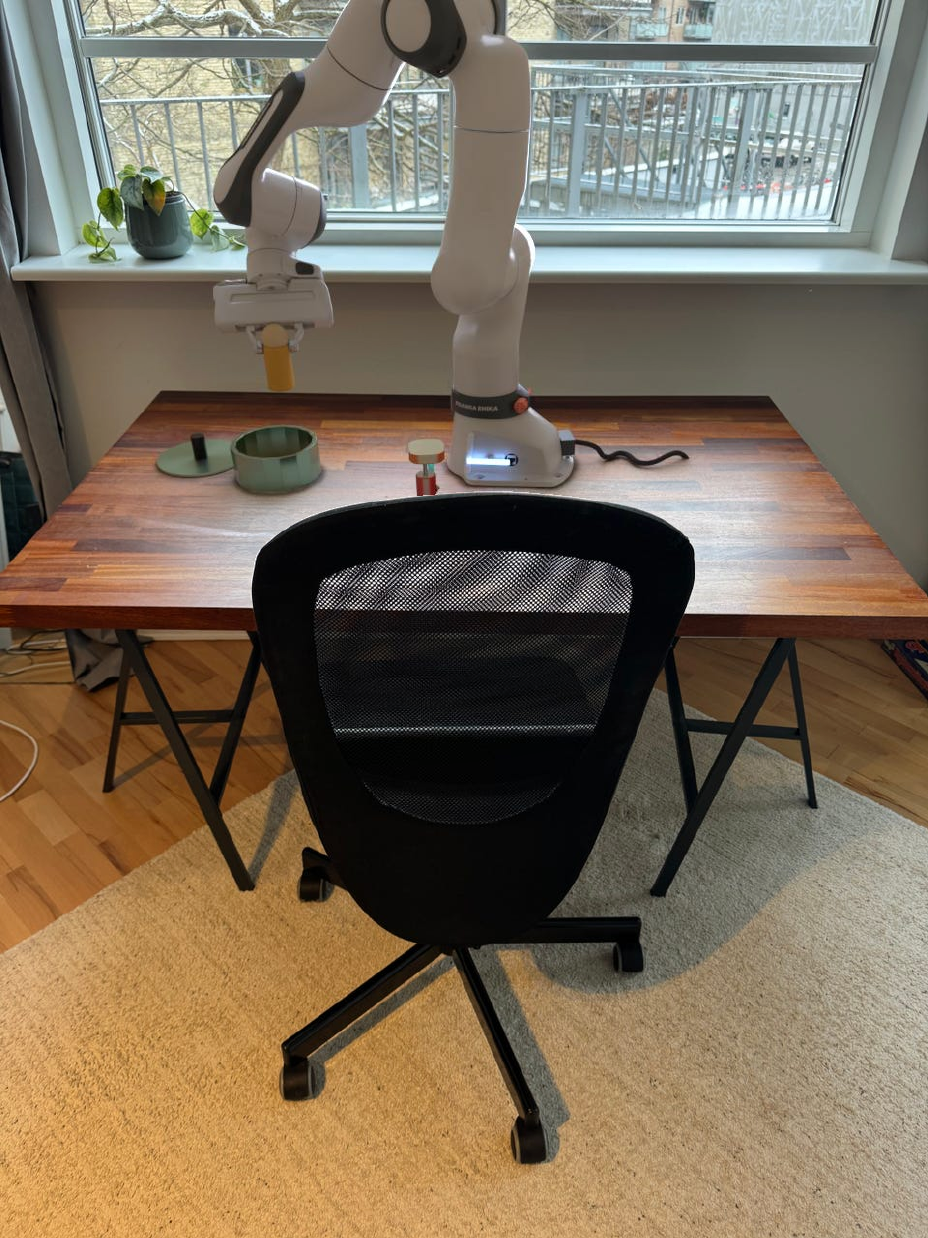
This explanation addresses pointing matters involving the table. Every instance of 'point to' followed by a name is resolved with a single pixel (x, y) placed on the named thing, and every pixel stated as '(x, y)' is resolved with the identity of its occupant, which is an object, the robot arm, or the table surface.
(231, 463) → the lid
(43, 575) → the table surface
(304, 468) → the pot
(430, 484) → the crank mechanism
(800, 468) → the table surface
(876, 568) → the table surface
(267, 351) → the toy
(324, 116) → the robot arm
